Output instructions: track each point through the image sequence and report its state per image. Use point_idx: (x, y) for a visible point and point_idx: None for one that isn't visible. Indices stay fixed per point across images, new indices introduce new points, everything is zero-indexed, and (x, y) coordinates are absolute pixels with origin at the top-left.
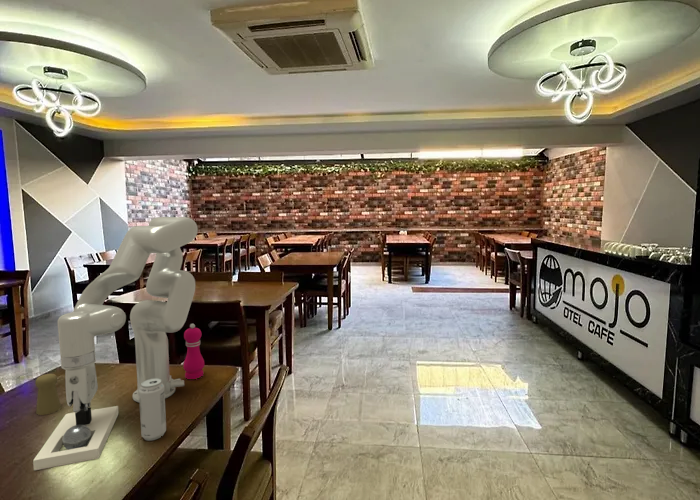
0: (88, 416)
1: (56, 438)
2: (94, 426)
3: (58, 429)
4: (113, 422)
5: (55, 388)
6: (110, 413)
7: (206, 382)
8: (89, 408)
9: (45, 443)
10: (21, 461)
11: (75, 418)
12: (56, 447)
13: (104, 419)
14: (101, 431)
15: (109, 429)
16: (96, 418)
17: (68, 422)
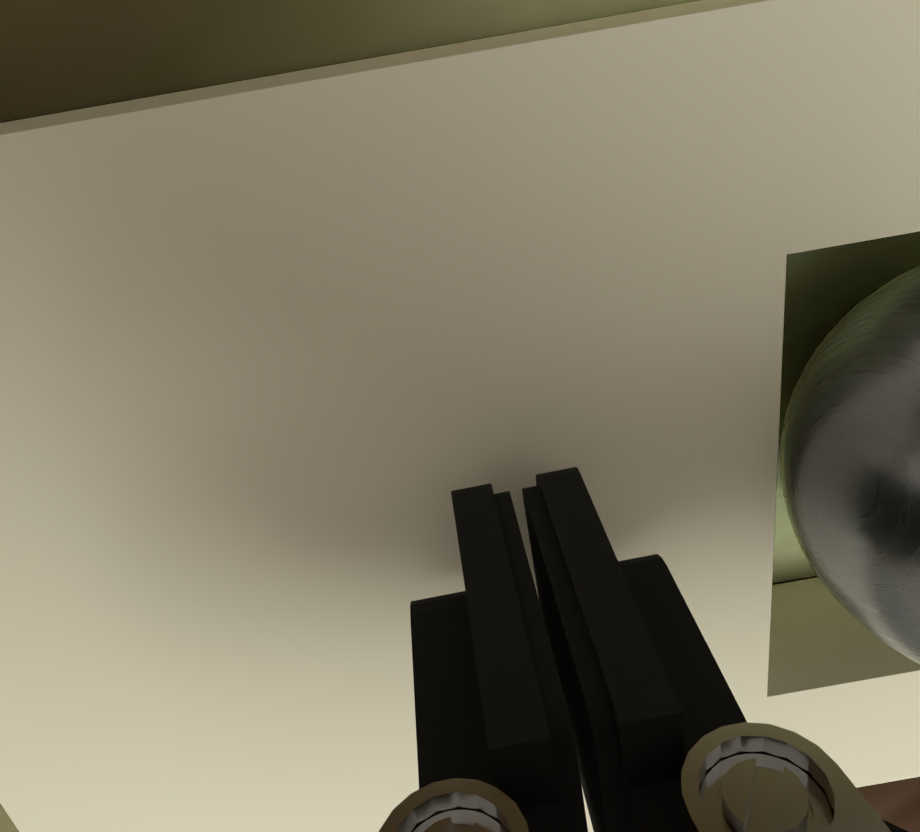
0: (616, 586)
1: (823, 723)
2: (618, 344)
3: None
4: (231, 86)
5: None
6: (49, 235)
7: None
8: (548, 740)
9: (903, 776)
10: (894, 790)
11: (243, 763)
12: None
13: (339, 260)
14: (907, 91)
15: (603, 22)
16: (272, 447)
17: (363, 790)
